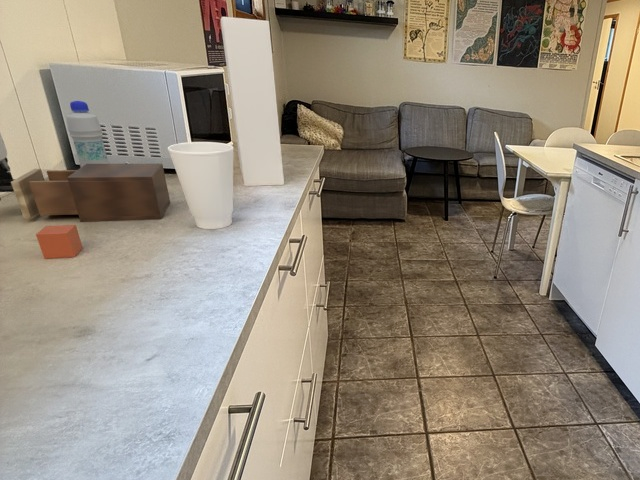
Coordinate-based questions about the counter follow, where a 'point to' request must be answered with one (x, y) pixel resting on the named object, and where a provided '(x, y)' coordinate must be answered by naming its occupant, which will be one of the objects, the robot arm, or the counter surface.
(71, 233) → the block
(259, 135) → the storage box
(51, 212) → the drawer
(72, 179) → the cabinet
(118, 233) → the counter surface
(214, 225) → the cup
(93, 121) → the bottle
